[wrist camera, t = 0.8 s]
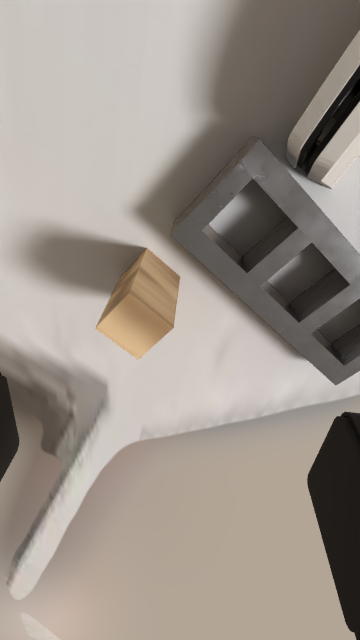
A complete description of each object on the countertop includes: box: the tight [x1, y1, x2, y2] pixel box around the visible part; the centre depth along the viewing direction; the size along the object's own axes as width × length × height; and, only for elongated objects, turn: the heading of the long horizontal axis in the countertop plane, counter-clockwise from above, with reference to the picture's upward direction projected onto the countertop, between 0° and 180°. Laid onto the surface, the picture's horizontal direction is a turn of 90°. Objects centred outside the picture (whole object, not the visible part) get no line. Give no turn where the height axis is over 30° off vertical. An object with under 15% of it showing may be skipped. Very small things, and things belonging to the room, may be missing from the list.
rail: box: [171, 136, 360, 385], centre depth 33 cm, size 10×24×4 cm, turn 47°
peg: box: [95, 248, 180, 359], centre depth 32 cm, size 4×4×10 cm
